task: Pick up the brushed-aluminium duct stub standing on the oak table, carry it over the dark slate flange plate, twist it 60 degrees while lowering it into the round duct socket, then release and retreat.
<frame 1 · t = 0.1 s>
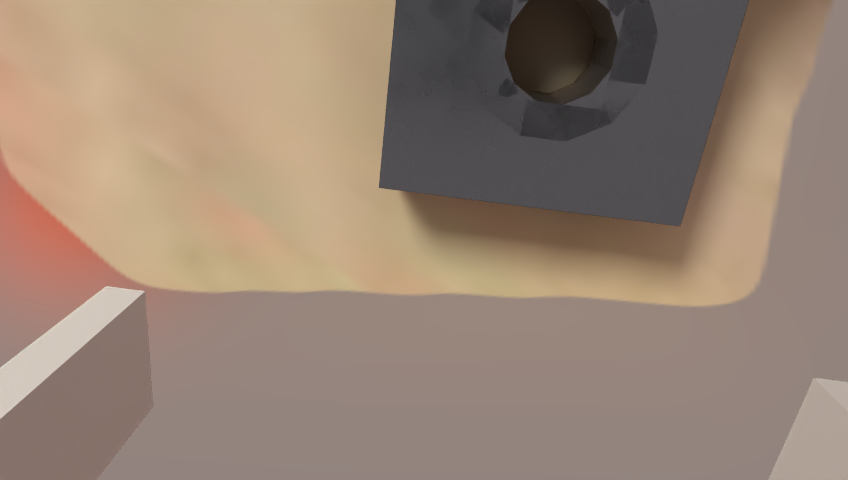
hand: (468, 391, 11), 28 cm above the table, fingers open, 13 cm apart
flange plate: (546, 44, 35), on the table
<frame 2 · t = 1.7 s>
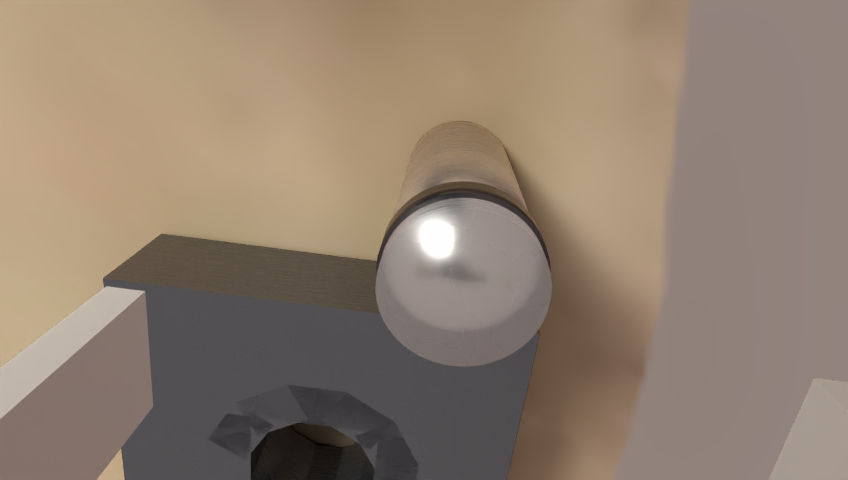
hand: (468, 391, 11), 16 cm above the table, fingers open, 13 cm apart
duct stub: (458, 171, 26), on the table
flange plate: (332, 405, 31), on the table
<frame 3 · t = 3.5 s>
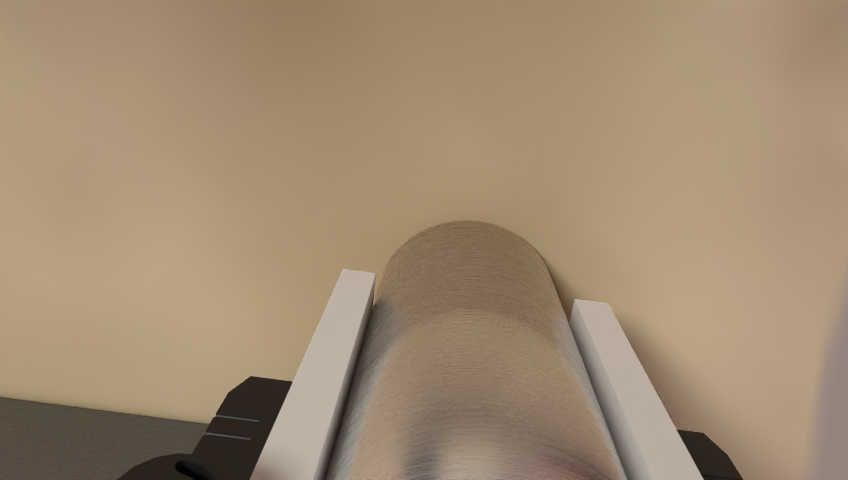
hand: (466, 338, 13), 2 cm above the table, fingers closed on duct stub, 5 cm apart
duct stub: (465, 303, 15), on the table, touching gripper
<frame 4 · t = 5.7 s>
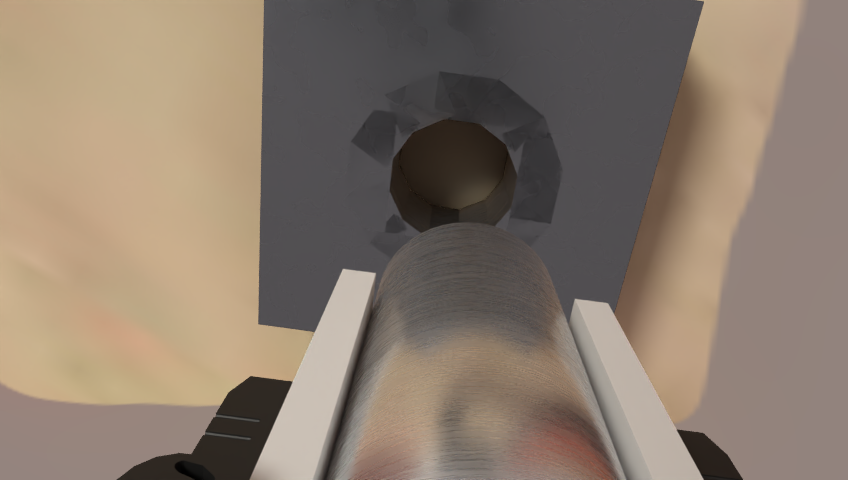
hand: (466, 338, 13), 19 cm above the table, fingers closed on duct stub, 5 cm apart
duct stub: (465, 305, 15), point 17 cm above the table, touching gripper
flange plate: (452, 158, 31), on the table
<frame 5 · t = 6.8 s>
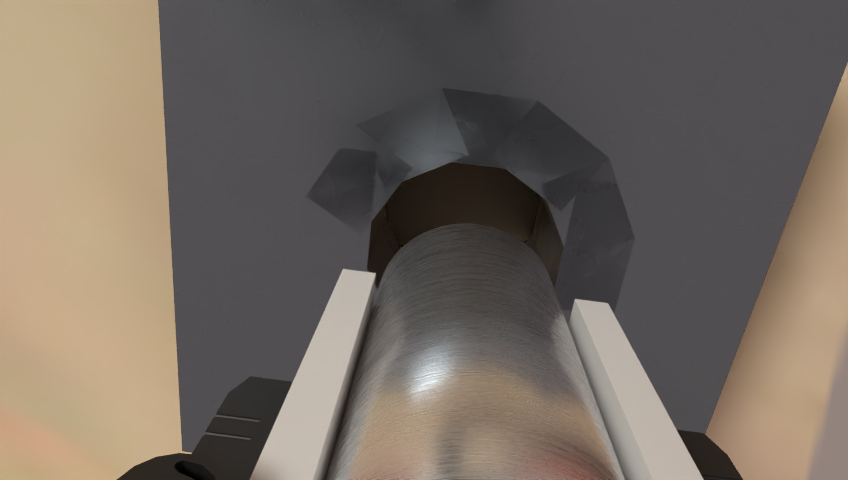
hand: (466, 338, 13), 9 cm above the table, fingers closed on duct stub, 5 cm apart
duct stub: (464, 306, 15), point 8 cm above the table, touching gripper
flange plate: (461, 206, 22), on the table
when the fingers open (6 cm above the table, at t = 7.8 s): duct stub drops 4 cm, resting in flange plate.
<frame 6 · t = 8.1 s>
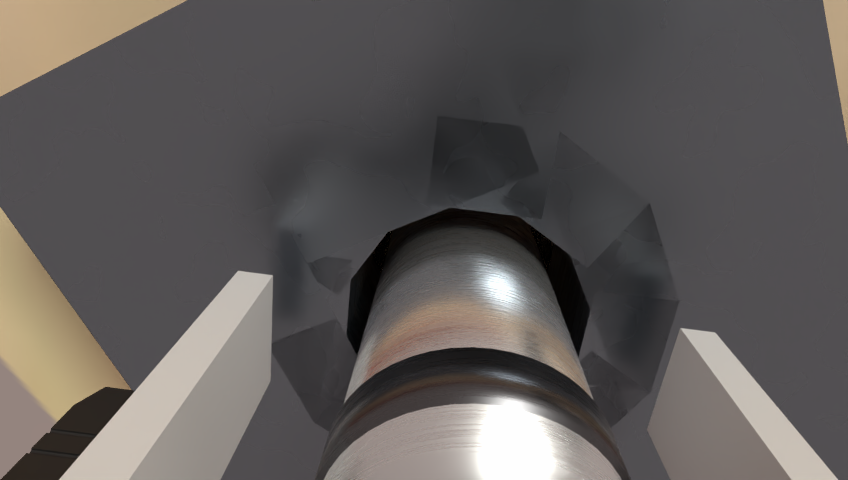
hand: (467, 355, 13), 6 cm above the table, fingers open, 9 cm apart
duct stub: (461, 247, 19), resting in flange plate
flange plate: (462, 246, 18), on the table
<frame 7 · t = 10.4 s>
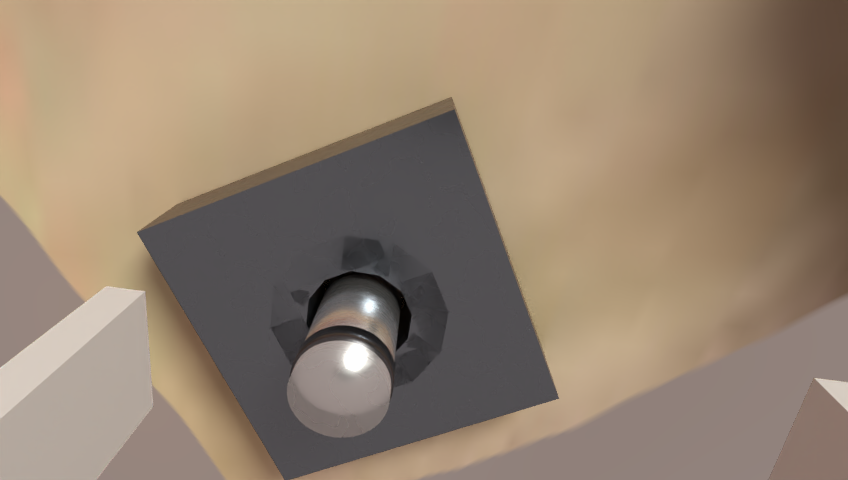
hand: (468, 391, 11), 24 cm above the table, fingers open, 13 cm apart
duct stub: (367, 282, 36), resting in flange plate
flange plate: (368, 281, 36), on the table
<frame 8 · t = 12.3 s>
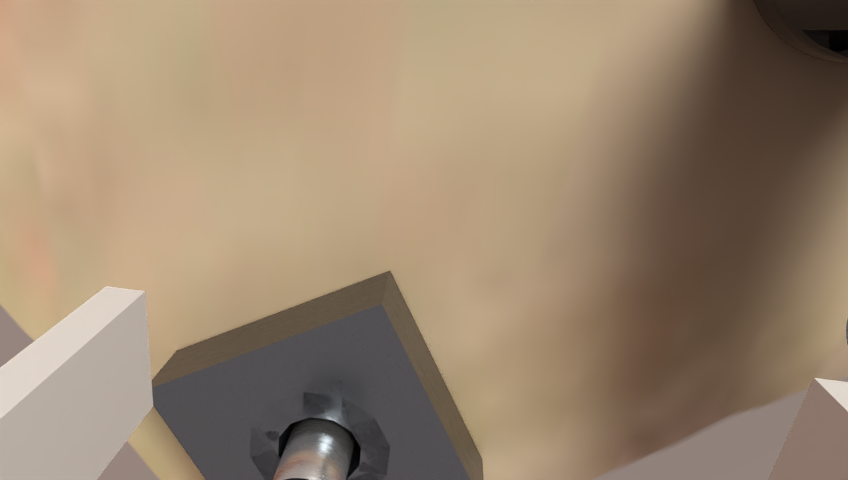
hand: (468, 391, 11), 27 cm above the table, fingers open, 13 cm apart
duct stub: (333, 406, 44), resting in flange plate
flange plate: (333, 406, 44), on the table
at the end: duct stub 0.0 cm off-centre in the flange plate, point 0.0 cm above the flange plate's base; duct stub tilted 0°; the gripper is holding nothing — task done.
